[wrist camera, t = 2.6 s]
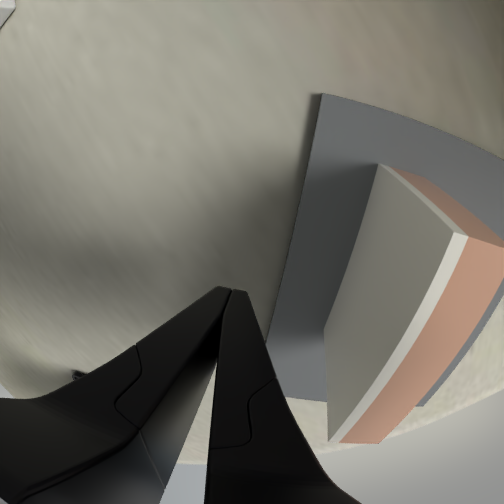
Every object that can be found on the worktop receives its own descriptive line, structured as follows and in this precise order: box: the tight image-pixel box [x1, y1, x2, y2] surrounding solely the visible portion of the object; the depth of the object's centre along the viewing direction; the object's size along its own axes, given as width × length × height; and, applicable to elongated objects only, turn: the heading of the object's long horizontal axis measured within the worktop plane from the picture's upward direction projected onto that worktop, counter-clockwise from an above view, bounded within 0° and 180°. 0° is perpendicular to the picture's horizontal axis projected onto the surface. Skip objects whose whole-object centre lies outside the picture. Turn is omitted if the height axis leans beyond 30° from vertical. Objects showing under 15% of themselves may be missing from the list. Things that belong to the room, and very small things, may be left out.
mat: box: [266, 93, 504, 406], centre depth 13 cm, size 16×12×1 cm
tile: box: [324, 163, 504, 444], centre depth 9 cm, size 8×2×6 cm, turn 171°
